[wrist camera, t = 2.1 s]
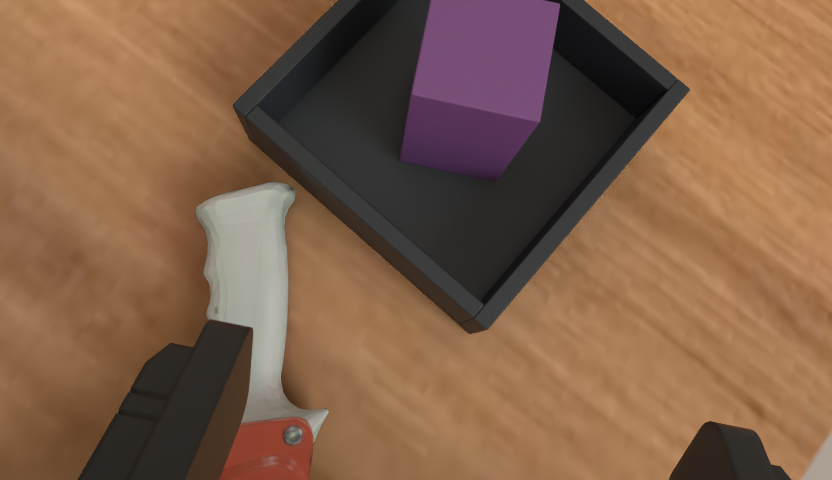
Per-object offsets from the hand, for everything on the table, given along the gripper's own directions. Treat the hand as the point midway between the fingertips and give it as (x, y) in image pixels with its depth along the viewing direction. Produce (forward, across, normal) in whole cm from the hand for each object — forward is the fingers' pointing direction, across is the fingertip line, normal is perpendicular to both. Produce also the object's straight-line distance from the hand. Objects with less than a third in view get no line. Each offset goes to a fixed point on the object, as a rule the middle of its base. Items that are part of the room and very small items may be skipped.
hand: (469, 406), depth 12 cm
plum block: (+21, 0, +4) cm, 21 cm away
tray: (+21, 0, +5) cm, 22 cm away
